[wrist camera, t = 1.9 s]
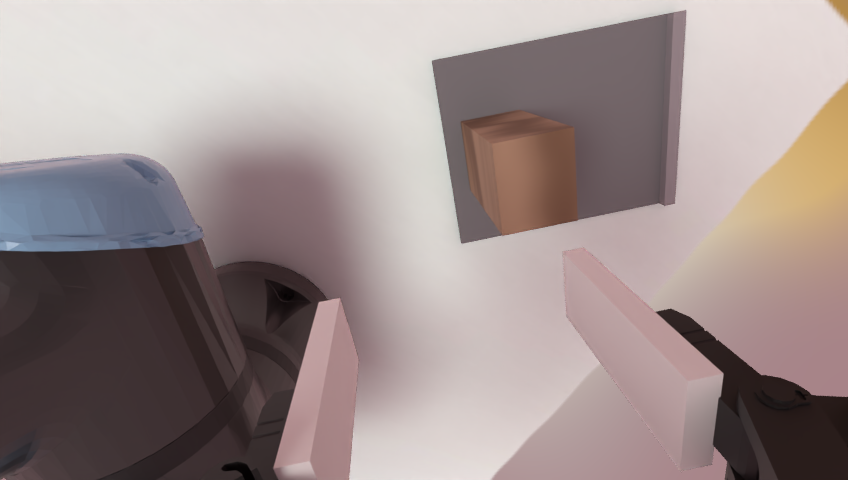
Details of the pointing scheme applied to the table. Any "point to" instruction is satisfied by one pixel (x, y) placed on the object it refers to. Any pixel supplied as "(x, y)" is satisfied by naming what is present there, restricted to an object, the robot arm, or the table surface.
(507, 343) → the table surface
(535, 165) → the walnut block
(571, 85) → the mat
